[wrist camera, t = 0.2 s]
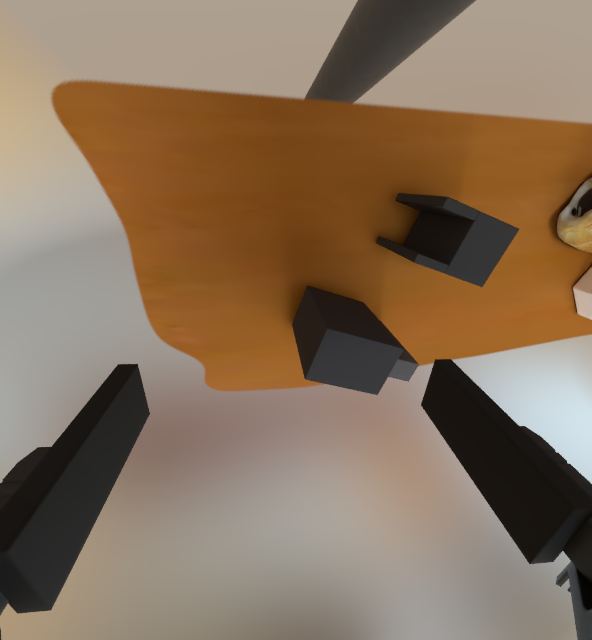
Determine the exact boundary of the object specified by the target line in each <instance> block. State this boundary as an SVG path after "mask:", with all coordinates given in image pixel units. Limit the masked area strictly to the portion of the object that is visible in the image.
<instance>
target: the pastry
mask: <svg viewBox="0 0 592 640" xmlns="http://www.w3.org/2000/svg"><path fill="white" fill-rule="evenodd" d="M557 233H558V236H559V237H560V238H561V239H562V240H563V241H564V242H565V243H568V244H570V245H572V246H574V247H575V248H577V249H579V250H583V251H586V252H592V178H590V179H588V180H587V181H585V182H584V183H583V184H582V186H581V187H580V188H579V189H578V191H577V192H576V193H575V195H574V196H573V198H572V200H571V201H570V203H569V205H568V206H567V207H566V208H565V209H564V210H563V211H562V212H561V214H560V215H559V217H558V223H557Z"/></svg>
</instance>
